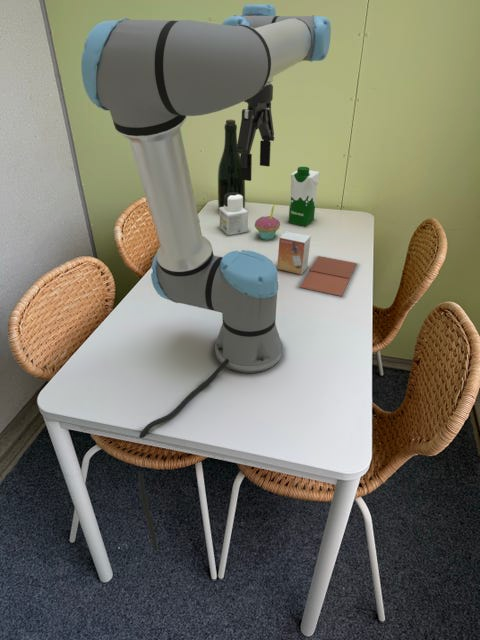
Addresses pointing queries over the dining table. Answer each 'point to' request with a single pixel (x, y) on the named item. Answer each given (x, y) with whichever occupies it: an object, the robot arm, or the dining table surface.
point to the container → (233, 214)
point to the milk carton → (303, 196)
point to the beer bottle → (230, 166)
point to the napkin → (329, 276)
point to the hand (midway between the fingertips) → (255, 172)
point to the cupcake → (267, 226)
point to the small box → (293, 252)
